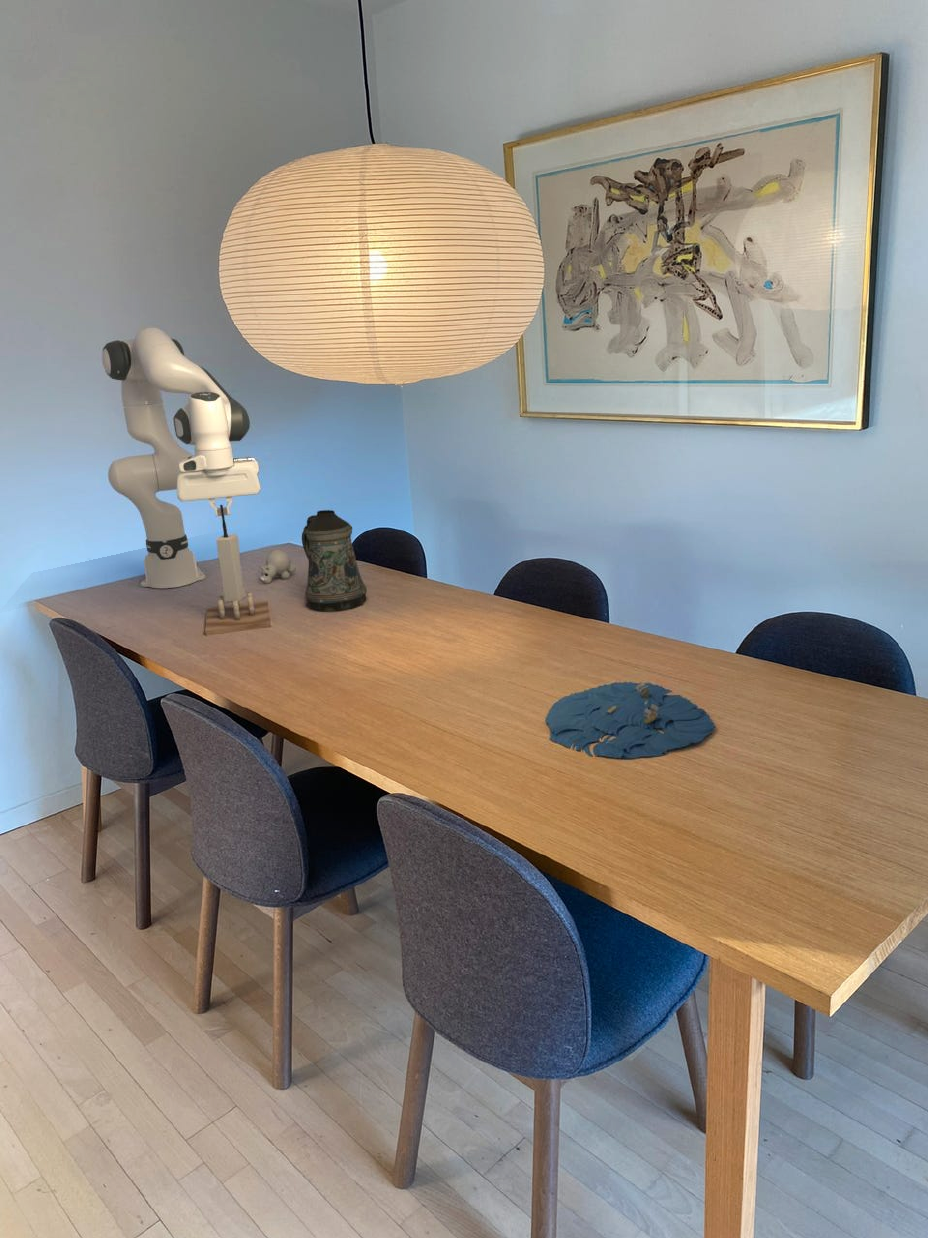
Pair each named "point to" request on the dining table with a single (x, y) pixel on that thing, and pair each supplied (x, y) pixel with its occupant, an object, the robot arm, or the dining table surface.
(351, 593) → the beer stein
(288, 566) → the round bodied animal figurine
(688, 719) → the decorative plate
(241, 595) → the vintage mobile phone
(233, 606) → the pin dock
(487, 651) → the dining table surface
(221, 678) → the dining table surface
